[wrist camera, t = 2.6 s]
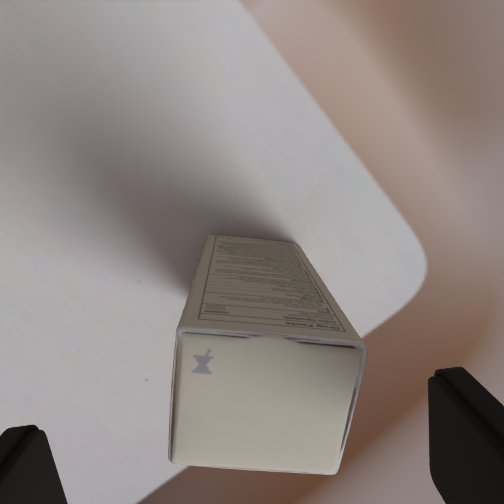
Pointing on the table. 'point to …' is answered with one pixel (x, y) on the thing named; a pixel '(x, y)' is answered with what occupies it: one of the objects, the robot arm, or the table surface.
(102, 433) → the table surface
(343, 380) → the box
